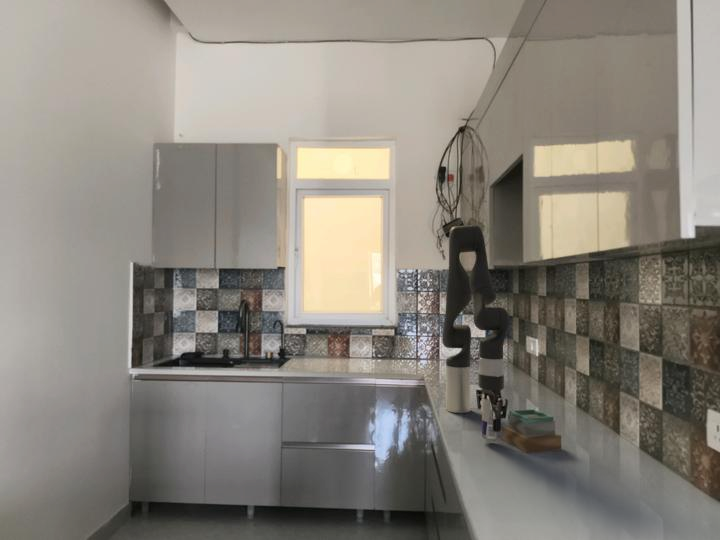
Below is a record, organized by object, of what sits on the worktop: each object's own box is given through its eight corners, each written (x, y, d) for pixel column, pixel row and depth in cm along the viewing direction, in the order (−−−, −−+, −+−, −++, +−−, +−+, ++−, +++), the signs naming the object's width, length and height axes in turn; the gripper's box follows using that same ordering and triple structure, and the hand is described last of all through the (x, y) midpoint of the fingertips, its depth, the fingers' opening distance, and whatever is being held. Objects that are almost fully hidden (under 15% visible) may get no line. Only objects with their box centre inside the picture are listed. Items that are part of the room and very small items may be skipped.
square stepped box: (502, 439, 140) (502, 409, 141) (534, 436, 144) (534, 407, 144) (526, 452, 129) (526, 420, 129) (561, 449, 132) (561, 417, 133)
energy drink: (486, 433, 140) (486, 395, 140) (503, 437, 137) (503, 398, 137) (479, 438, 136) (479, 398, 136) (496, 442, 132) (496, 401, 133)
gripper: (468, 368, 143) (468, 422, 142) (493, 377, 129) (493, 437, 128) (488, 367, 145) (488, 420, 144) (516, 376, 131) (516, 434, 130)
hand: (491, 427), depth 136 cm, fingers closed on energy drink, 5 cm apart
